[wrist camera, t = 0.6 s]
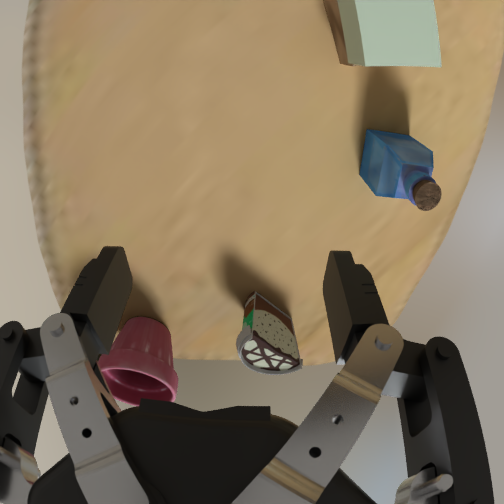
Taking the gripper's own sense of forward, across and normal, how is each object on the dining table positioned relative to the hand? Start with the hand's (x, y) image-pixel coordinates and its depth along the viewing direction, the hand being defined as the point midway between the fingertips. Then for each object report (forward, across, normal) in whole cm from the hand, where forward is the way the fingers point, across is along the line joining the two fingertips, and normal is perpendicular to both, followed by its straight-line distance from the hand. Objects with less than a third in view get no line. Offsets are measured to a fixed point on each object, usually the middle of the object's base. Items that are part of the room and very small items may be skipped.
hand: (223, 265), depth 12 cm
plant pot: (+26, +18, +39) cm, 50 cm away
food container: (+26, -3, +33) cm, 43 cm away
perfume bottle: (+28, -18, +5) cm, 33 cm away
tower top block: (+23, -13, -11) cm, 29 cm away
